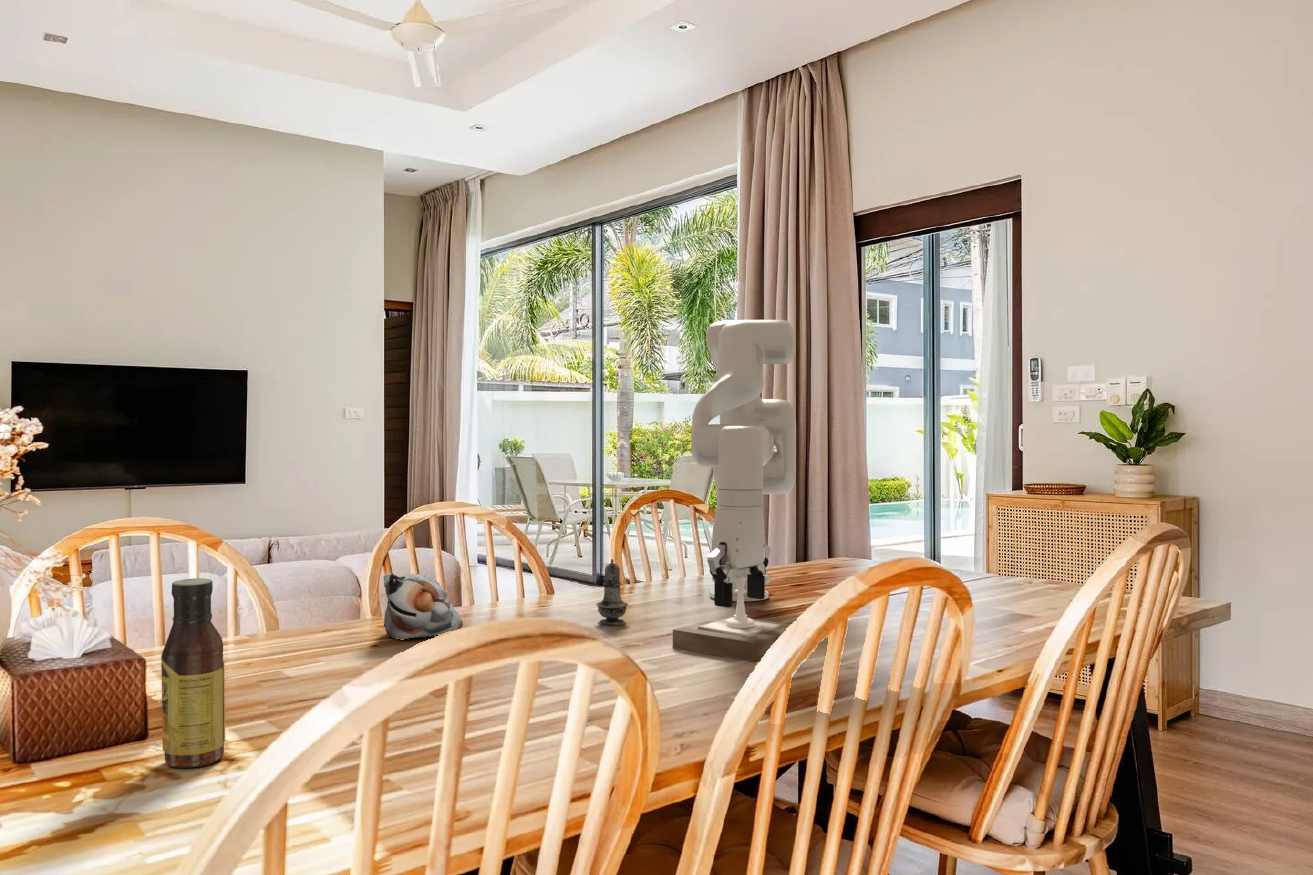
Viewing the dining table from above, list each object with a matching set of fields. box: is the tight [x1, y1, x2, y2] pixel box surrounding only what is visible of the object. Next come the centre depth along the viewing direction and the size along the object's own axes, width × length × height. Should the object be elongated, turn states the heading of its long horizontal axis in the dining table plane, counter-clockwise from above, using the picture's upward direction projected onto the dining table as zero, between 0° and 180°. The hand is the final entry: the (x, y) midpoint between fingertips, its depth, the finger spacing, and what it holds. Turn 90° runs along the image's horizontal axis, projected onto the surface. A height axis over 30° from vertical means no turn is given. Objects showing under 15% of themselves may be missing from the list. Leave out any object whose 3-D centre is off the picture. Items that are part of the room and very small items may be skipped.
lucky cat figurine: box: [383, 572, 464, 640], centre depth 172 cm, size 15×12×14 cm
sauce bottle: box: [160, 577, 226, 769], centre depth 109 cm, size 6×6×20 cm
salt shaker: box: [595, 558, 629, 627], centre depth 185 cm, size 6×6×12 cm
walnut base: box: [672, 614, 791, 663], centre depth 166 cm, size 16×16×3 cm
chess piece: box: [726, 569, 755, 628], centre depth 166 cm, size 5×5×10 cm
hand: (739, 602), depth 166 cm, fingers open, 9 cm apart
